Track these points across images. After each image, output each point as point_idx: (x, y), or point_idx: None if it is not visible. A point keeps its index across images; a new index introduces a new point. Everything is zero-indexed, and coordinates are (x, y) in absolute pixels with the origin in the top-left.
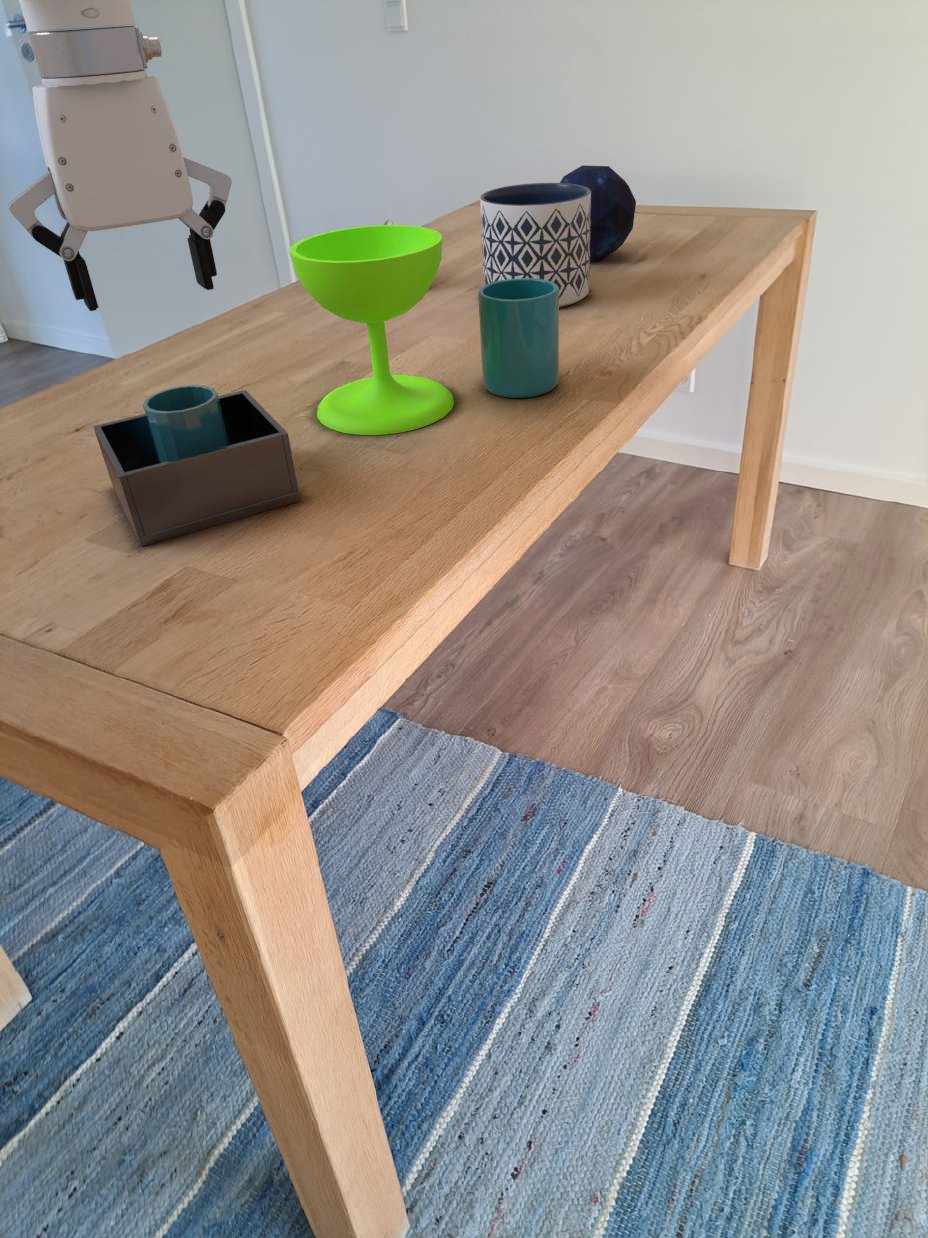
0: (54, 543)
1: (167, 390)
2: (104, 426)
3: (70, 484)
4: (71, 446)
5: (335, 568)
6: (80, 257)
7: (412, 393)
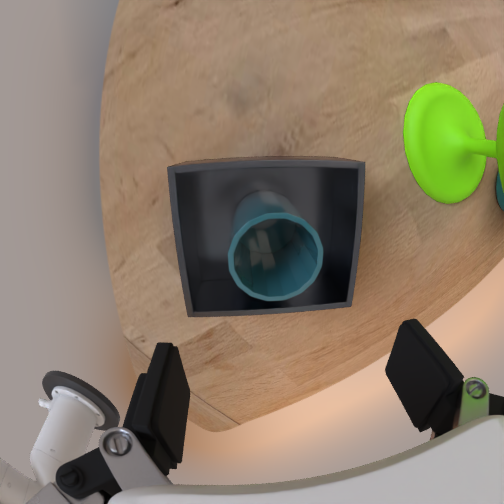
0: (133, 238)
1: (268, 218)
2: (179, 172)
3: (148, 124)
4: (162, 35)
5: (308, 358)
6: (169, 462)
7: (470, 160)
